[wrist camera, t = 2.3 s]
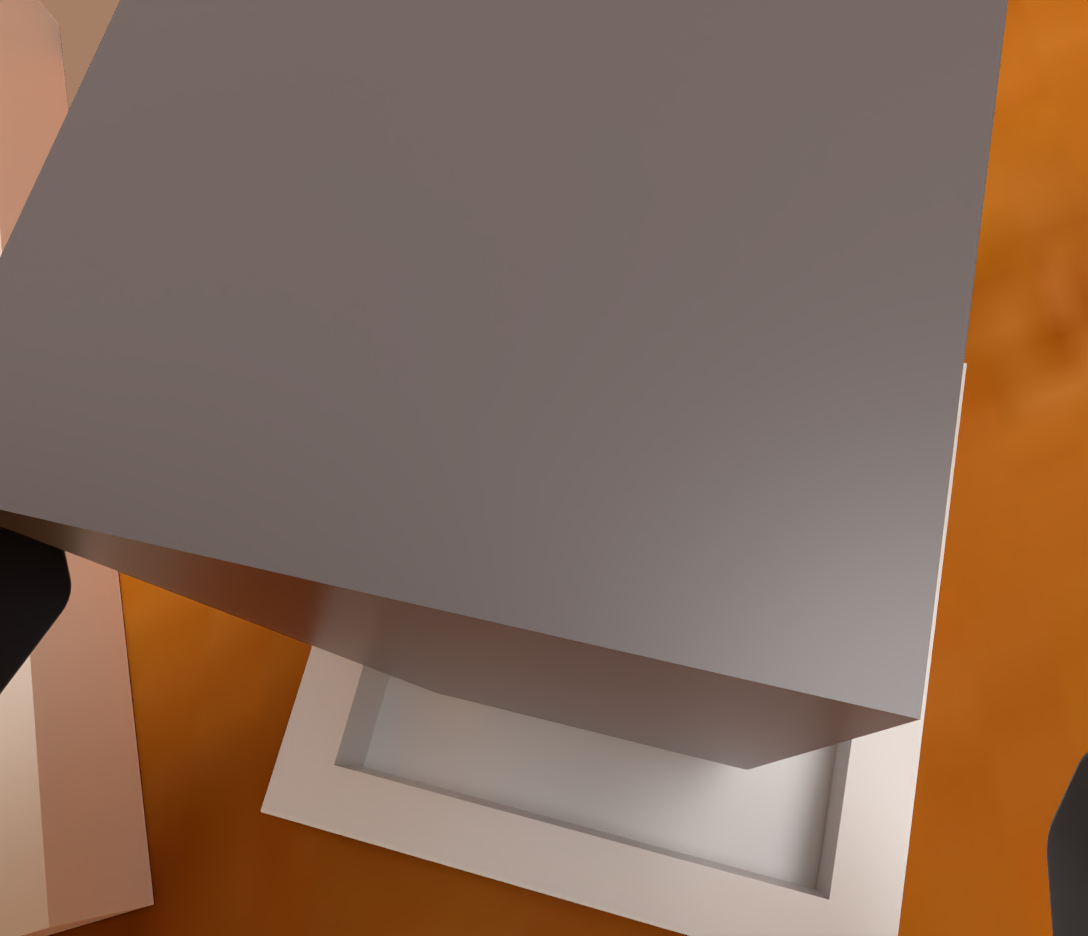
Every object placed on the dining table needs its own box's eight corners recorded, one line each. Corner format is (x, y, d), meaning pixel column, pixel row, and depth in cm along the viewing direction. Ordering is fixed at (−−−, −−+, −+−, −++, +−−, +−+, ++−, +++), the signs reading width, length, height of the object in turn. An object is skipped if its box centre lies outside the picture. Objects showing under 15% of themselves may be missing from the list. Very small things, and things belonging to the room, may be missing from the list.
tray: (864, 968, 15) (890, 993, 13) (306, 809, 17) (260, 812, 15) (937, 407, 18) (966, 363, 16) (450, 329, 20) (426, 282, 18)
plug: (739, 772, 16) (919, 719, 4) (463, 703, 17) (-108, 485, 5) (787, 497, 17) (1031, -196, 5) (529, 449, 18) (223, -221, 6)
